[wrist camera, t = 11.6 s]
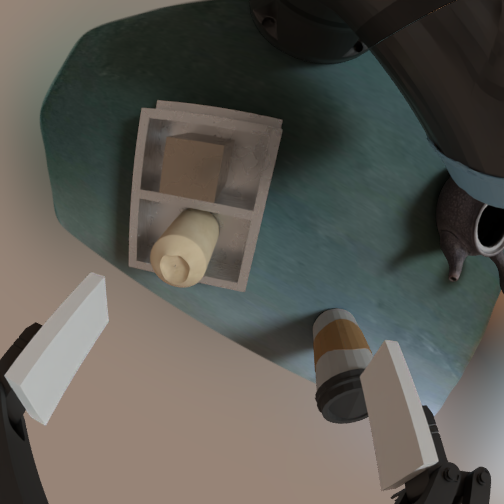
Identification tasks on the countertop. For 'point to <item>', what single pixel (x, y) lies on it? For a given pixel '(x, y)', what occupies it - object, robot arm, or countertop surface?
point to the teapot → (469, 229)
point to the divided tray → (223, 209)
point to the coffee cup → (340, 366)
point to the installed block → (196, 166)
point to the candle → (185, 248)
